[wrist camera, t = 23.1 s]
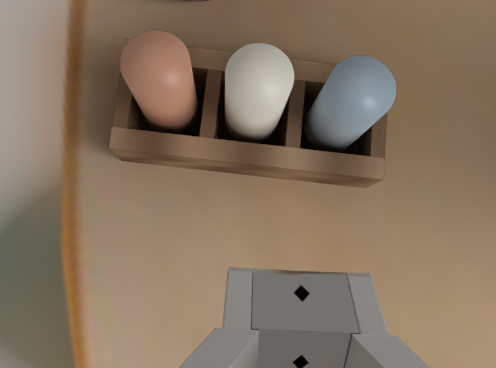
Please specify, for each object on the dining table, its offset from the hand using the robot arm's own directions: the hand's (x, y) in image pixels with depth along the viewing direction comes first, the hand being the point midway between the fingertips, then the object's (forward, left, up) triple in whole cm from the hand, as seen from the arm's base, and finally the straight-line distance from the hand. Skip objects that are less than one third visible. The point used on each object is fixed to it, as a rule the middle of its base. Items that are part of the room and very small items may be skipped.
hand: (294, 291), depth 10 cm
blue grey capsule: (-12, -3, -23) cm, 26 cm away
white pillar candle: (-8, -8, -23) cm, 25 cm away
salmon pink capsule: (-4, -12, -23) cm, 26 cm away
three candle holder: (-8, -8, -24) cm, 27 cm away
